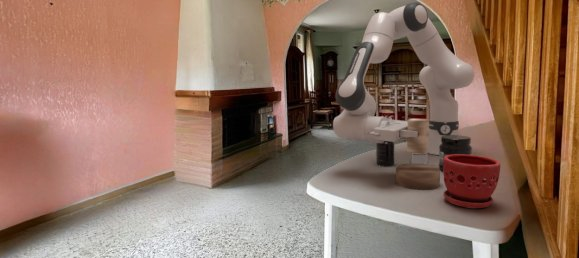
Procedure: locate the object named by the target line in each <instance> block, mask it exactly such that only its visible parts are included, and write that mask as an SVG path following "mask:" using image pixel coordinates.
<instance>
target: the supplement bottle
mask: <svg viewBox="0 0 579 258" xmlns="http://www.w3.org/2000/svg"><path fill="white" fill-rule="evenodd" d="M375 148H376V149H375V151H376V153H375V155H376V157H375V159H376V160H375V161H376V165H377V166H379V165H380V167H392V166H394V165H395V141H385V142H384V143H375Z"/></svg>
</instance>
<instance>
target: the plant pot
mask: <svg viewBox="0 0 579 258" xmlns="http://www.w3.org/2000/svg"><path fill="white" fill-rule="evenodd" d="M451 171H452V173H451ZM442 172H443V182H444V185H445V188H446V190H444V191H443V194H442V195H443V197H444V199H445V200H446V201H448V202H449V203H450V204H452V205H454V206H455V205H456V206H457V207H463V208H468V209H481V208H488V207H489V206H491V205H492V204H493V202H494V199H493V194H494V192H495V190H496V189H497V187H498V183H499V178H500V173H501V162H500V161H498V160H496V159H494V158H491V157H487V156H481V155H474V154H472V155H464V154H454V155H447V156H445V157H444V160H443V170H442Z"/></svg>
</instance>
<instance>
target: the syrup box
mask: <svg viewBox="0 0 579 258" xmlns="http://www.w3.org/2000/svg"><path fill="white" fill-rule="evenodd" d="M428 154H429V153H428V151H427V152H426V153H424V154H421V153H412V152H409V164H426V165H428Z"/></svg>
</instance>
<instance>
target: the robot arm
mask: <svg viewBox="0 0 579 258" xmlns="http://www.w3.org/2000/svg"><path fill="white" fill-rule="evenodd" d="M362 37H363V38H362V41H361V43H359V45H358V46H357V47H356V49H355V52H354V53H353V56H352V58H351V61H350V64H349V65H348V68H347V70H346V73H345V74H344V75H345V76H344V78H343V80H342V81H341V82H340V83H339V85H338V87H337V89H336V91H335V96H334V97H335V101H336V103H337V104H338V105H339V106H340V107H341V108H343V110H342V112H341V113H340V114H338V115H337V116H335V117H334V119H333V121H332V122H333V123H332V129H333V132H334V134H335V135H336V136H337V137H338V138H339V139H342V140H346V141H353V142H359V141H364V142H366V143H372V144H376V143H384V142H385V141H393V142H397V141H399V140H402V139H405V138H407V137H418V136H419V132H418V131H408V120H398V119H393V118H391V117H385V116H375V115H376V111H377V108H378V105H377V101H376V99H375V98H374V97H373V96H372V94H370V93H369V91H368V89H366V87H365V83H364V82H365V81H364V80H365V78H366V75H367V71H368V69H369V66H370V64H380V63H383V62H384V61H386V60H387V59H388V58H389V56H390V54H391V51H392V48H393V44H394V41H395V40H399V39H403V38H405V37H407V39H408V42H409V44H410V46H411V47H412V48H413V51H414V53H415V54H416V56H417V58H418V59H419V61H420V62H421V63H422V64H425V65H426V66H424V67H422V69H421V70H420V71H419V75H418V79H419V82H420V84H421V85H422V86H423V87H424V89H425V90H426V93H427V96H428V100H429V138H428V154H431V155H435V156H439V150H440V149H439V146H440V144H441V143H442V142H441V137H442V136H445V135H461V136H463V133H461V132H460V131H459V129H460V127H459V126H460V124H459V119H458V118H459V103H458V100H456V99H455V98H454V97H453V94H452V93H451V90H452V89H453V90H458V89H462V88H466V87H468V86H470V85H471V84H472V83H473V81H474V78H475V70H474V67H473V66H472V65H471V64H470V63H467V62H465V61H463V60H461V59H460V58H459V57H457V56H456V54H454V53H453V52H452V51H451V50H450V49H449V48H448V46H447V45H446V44H445V42H444V41H443V39H442V37H441V35H440V33H439V31H438V29H437V28H436V27H435V25H434V24H433V22H432V21H431V19H430V18H429V15H428V11H427V8H426V7H425V6H424V4H421V2H418V1H417V2H416V1H415V2H409V3H407V4H406V5H403V6H400V7H398V8H395V9H393V10H392V11H390V12H383V11H381V12H376V13H375V14H373V16H372V17H371V18H370V20H369V22H368V24H367V26H366V28H365V30H364V34H363V36H362Z"/></svg>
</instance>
